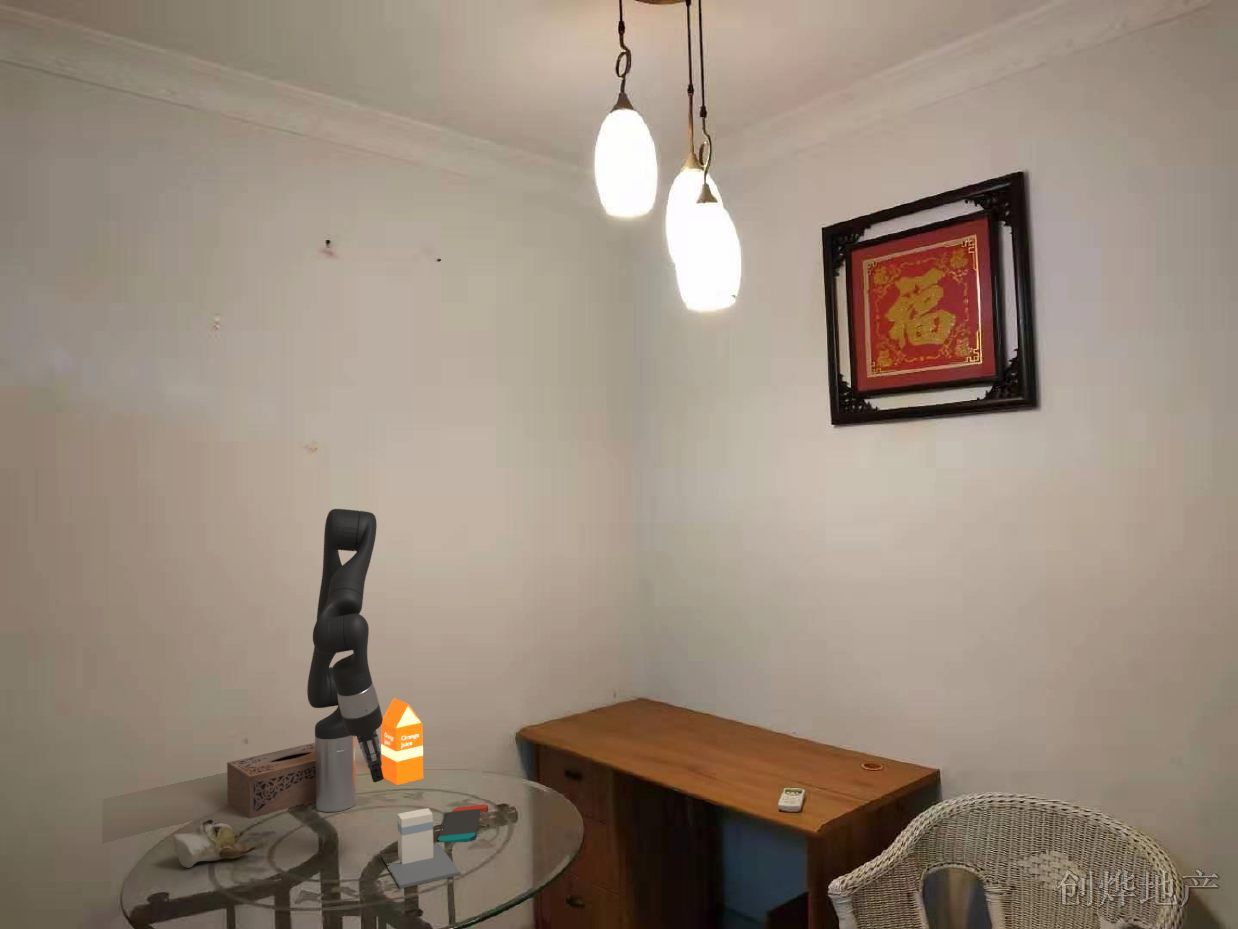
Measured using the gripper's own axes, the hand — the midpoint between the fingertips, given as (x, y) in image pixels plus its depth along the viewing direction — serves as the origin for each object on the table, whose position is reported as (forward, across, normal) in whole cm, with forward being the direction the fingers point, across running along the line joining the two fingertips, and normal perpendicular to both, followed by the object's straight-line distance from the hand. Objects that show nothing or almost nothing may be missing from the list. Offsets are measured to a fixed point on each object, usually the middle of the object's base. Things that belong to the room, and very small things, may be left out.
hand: (378, 779), depth 187 cm
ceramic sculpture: (+11, +11, +35) cm, 39 cm away
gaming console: (+23, +5, -16) cm, 28 cm away
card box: (+15, -8, -3) cm, 18 cm away
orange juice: (+28, +43, -7) cm, 52 cm away
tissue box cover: (+22, +42, +19) cm, 51 cm away
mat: (+15, -11, -3) cm, 19 cm away
